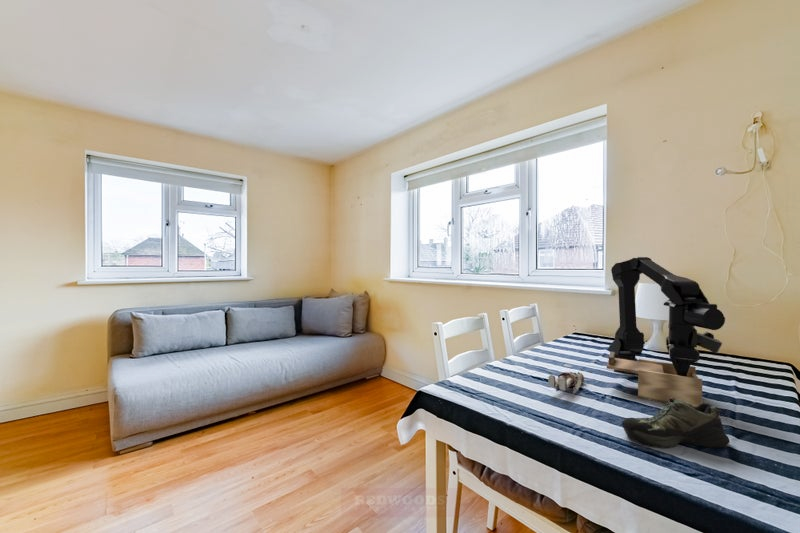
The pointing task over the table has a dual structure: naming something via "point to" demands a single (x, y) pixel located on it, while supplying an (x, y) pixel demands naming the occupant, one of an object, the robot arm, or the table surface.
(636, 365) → the lid
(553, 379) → the figurine
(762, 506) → the table surface
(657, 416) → the hiking shoe
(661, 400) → the box
